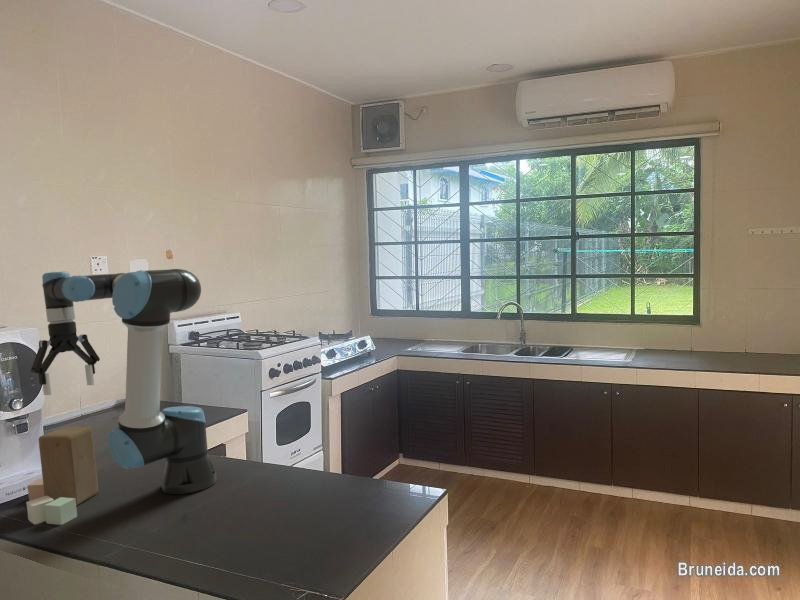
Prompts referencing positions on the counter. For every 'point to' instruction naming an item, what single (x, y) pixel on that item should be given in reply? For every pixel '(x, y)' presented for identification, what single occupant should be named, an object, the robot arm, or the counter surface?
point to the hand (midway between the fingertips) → (69, 389)
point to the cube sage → (60, 510)
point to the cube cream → (37, 509)
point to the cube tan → (36, 489)
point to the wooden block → (69, 463)
